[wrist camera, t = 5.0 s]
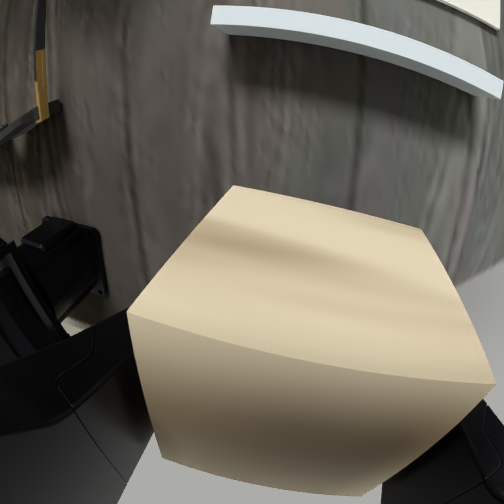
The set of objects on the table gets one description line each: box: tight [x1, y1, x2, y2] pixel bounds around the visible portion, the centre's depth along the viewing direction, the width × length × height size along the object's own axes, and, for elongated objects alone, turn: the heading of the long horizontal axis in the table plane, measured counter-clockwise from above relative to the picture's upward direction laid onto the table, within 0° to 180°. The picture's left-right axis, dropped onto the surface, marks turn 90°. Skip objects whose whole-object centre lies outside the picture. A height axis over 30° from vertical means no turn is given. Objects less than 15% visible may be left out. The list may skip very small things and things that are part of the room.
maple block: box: [127, 185, 496, 496], centre depth 7 cm, size 5×5×5 cm
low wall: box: [211, 6, 503, 99], centre depth 11 cm, size 1×14×3 cm, turn 82°
